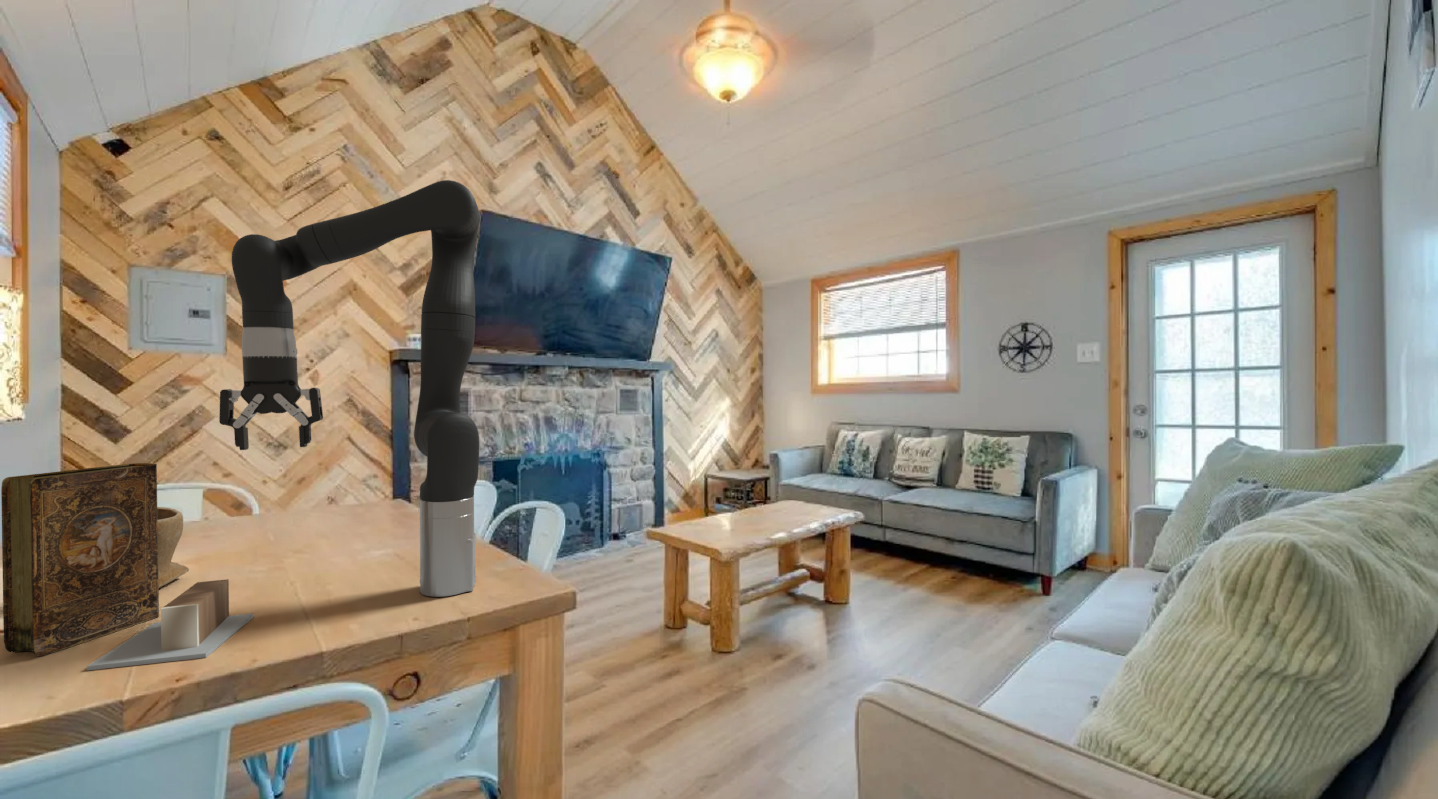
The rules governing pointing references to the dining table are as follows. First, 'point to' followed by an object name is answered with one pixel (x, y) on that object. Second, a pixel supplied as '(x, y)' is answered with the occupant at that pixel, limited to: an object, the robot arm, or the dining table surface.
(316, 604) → the dining table surface
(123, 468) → the book
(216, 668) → the dining table surface
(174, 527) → the stone cup
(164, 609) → the brown rectangular block
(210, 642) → the felt mat
